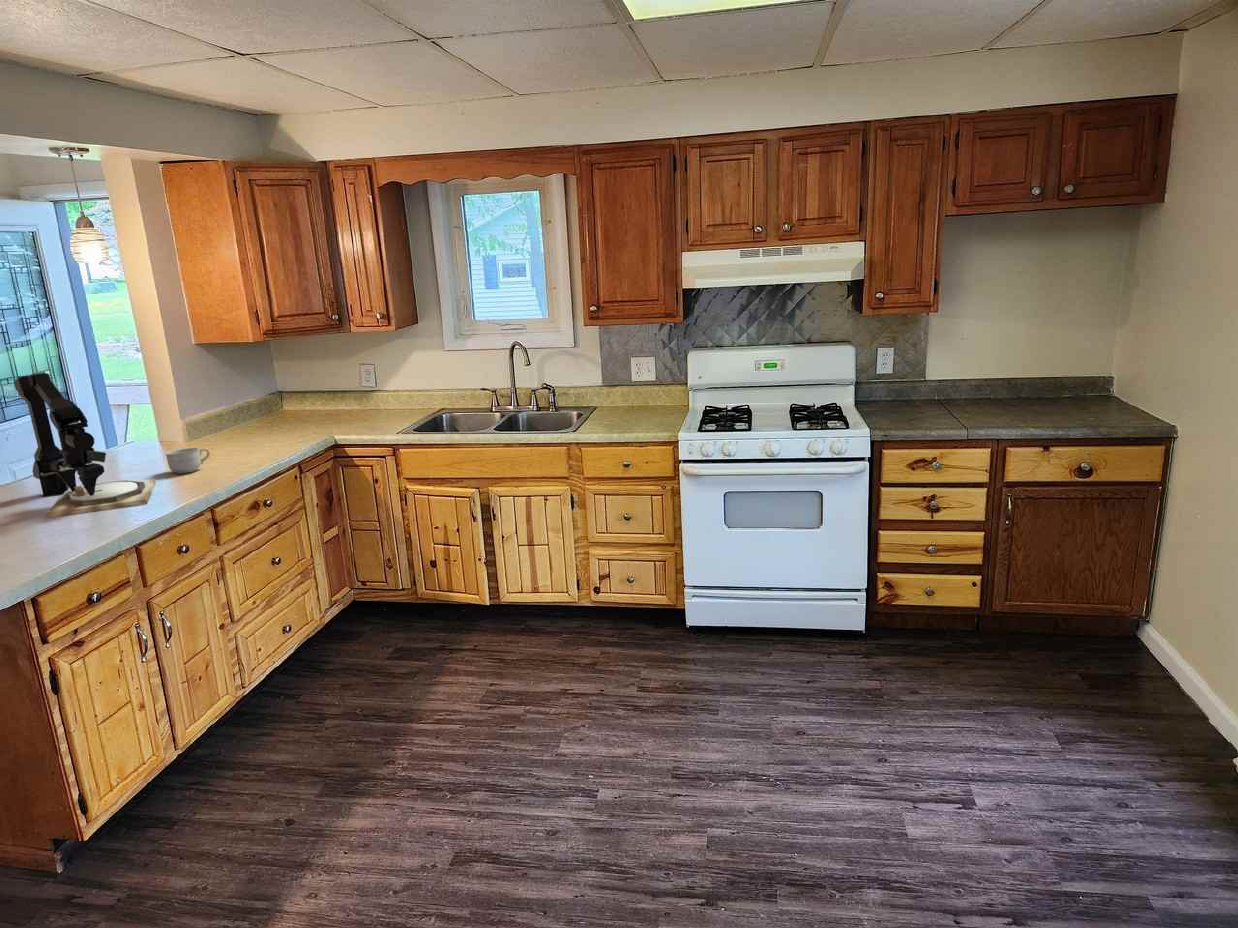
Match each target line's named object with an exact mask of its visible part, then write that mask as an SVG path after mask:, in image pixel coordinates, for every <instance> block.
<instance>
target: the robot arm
mask: <svg viewBox="0 0 1238 928" xmlns="http://www.w3.org/2000/svg"><path fill="white" fill-rule="evenodd" d="M13 386H14V389H15V390H16V392H17V393H18V396H19V397H20V398H21V399H22V400H23V401H24V402H25V403H26V405H27V408H28V412H29V416H30V420H31V424H32V427H33V432H34V436H35V441H36V445H37V448H36V450H35V453H34V454H33V457H34V461H33V467H32V474H33V477H34V478H35V479H37V480H39V482H40V486H41V487H40V488H41V490H42V494H41V497H43V498H44V497H49V496H57V495H58V496H59V495H63V494H64V492H65V491H69V489H70V490H72V491H75V490H74V487H76V486H77V483H76V472H77V475H78V479H79V480H80V482H81V484H82V487H85V489H86V491H87V492H88V494H89V495H90V496H92V495H94V491H95V485H96V484H97V480H98V478H99V477H101V476H103V474H104V473H105V466H104V465H102V464H100V463H106V456H107V452H103V451H98V450H95V448H94V444H95V437H94V436H93V435H92V434H91V433H89V432H88V431H87V432H86V429H85V428H88V427H89V424H88V421H89V420H88V419H87V418H86V416H85V414H84V412H83V411H82V409H81V408H80V407H78V405H76V403H75V402H74V401H72V400H70V399H66V398H65V397H64V396H63V395H62V393H61V392H60V391H59V389H58V388H57V387H56V385H55V384H54V382H53V381H52V380H51V376H50V374H49V373H47V372H38V373H32V374H26V375H20V376H17V377H16V379H15V380H14V381H13ZM47 406H48V408H49V413H48V409H47ZM50 422H51V423H52V424H53V426H54V428H55V429H56V431H57V434H58V438H59V443H60V447H61V449H60V448H59V447H58V446H57V445H56V443H55V439H54V436H53V435H54V434H53V430H52V427H51V423H50ZM96 462H100V463H96Z"/></svg>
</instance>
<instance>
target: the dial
mask: <svg viewBox="0 0 1238 928" xmlns="http://www.w3.org/2000/svg"><path fill="white" fill-rule="evenodd" d="M112 482H113V483H108V482H104V483H105V484H100V483H98V484H99V485H95V491H94V495H92V496H90V495H89V494H88V492H87V491H86V489H85V488H83V485H79V486H77V485H76V487H74V490H75V491H74V492H72V493H71V494H70V495H69V496H70V499H75V500H91V499H98V498H106V497H113V496H117V495H120V494H123V493H126V492H130V491H133V490H136V489H137V488H138V486H137V484H136V483H133V482H116V481H112Z"/></svg>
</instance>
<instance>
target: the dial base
mask: <svg viewBox="0 0 1238 928" xmlns="http://www.w3.org/2000/svg"><path fill="white" fill-rule="evenodd" d="M113 482H114V481H110V482H109V481H108V482H107V483H113ZM115 482H133V483H136V484H137V486H138V488H137V489H136V490H133V491H130V492H126V493H123V494H120V495H117V496H113V497H106V498H98V499H91V500H75V499H70V496H69V495H70V494H71V493H72V492H74V491H72V490H71V489H70V490H68V491H65V492H64V494H61V496H60V497H59V498H58V499H57V501H56V502H55V503H54V505H53V506H52V507H51V508H50V509H49V511H47V514H48V515H47V516H48V518H54V517H62V516H69V515H77V514H86V513H90V512H99V511H106V510H112V509H119V508H121V509H122V508H129V507H135V506H140V505H147V504H149V500H150V498H151V496H152V494H153V492H154V489H155V487H156V485H157V482H156V479H150V480H142V481H135V480H119V481H118V480H116V481H115ZM105 483H106V482H101V483H96V485H99V484H105ZM82 488H85V487H84V486H82Z"/></svg>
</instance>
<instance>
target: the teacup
mask: <svg viewBox="0 0 1238 928" xmlns="http://www.w3.org/2000/svg"><path fill="white" fill-rule="evenodd" d="M204 451H205V452H206V456H204V457H203V458H201V455H202V452H204ZM210 455H211V451H210V449H208V448H206V447H202V448H201V447H200V448H199V447H188V448H186V447H185V448H180V449H175V450H170V451H167V452H166V453H165V456H166V461H167V464H168V468H169V469H170V471H172V472H173V473H176V474H186V473H193V472H196V471H197V470H198V469H199V468H200V466H201V465H203V463H204V462H205V461H206V460H208V459H209V457H210Z"/></svg>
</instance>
